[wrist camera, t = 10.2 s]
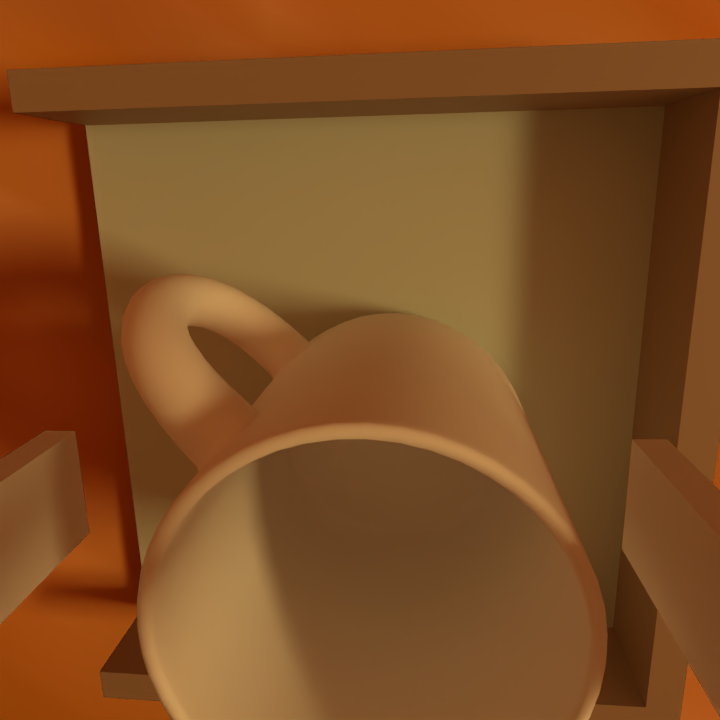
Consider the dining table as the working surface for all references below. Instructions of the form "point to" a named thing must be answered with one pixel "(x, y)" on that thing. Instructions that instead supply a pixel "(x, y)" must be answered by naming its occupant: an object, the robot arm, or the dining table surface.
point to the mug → (354, 527)
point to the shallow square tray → (438, 253)
